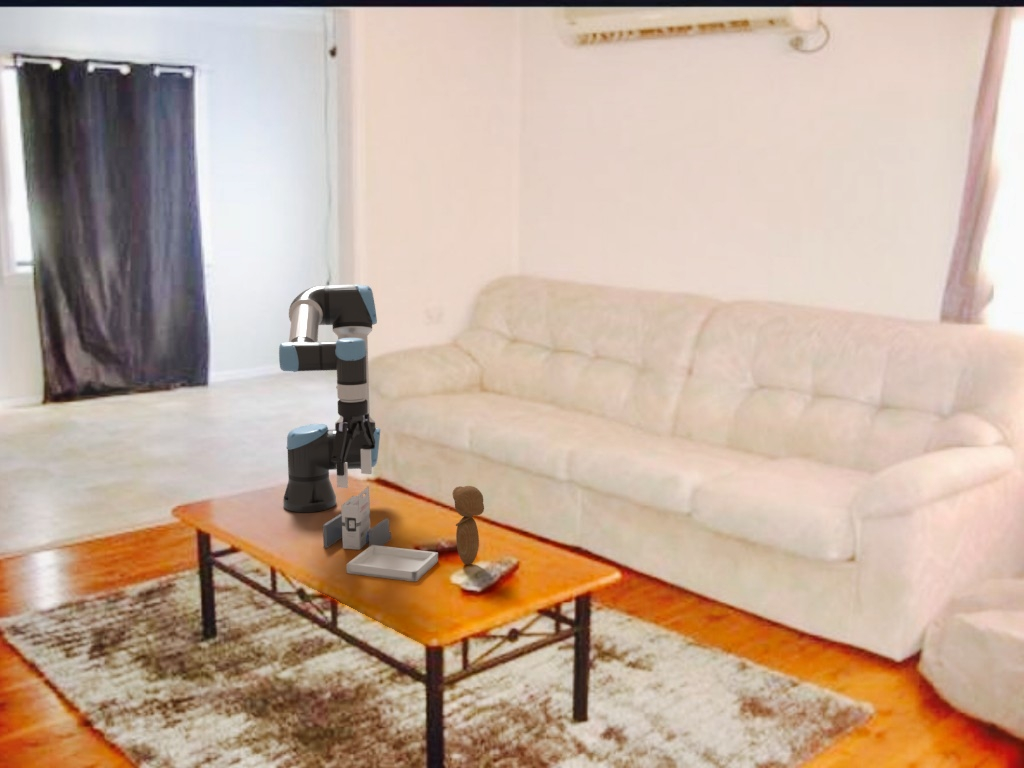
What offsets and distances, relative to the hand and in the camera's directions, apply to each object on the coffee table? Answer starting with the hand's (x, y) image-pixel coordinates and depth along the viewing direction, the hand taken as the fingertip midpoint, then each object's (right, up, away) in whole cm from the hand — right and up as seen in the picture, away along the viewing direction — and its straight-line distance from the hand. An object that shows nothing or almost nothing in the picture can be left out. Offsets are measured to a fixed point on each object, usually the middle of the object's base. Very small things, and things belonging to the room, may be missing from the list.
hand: (354, 480), depth 266 cm
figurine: (+30, -20, -11) cm, 38 cm away
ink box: (0, -17, +3) cm, 18 cm away
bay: (0, -17, +3) cm, 17 cm away
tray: (+11, -20, -13) cm, 27 cm away
